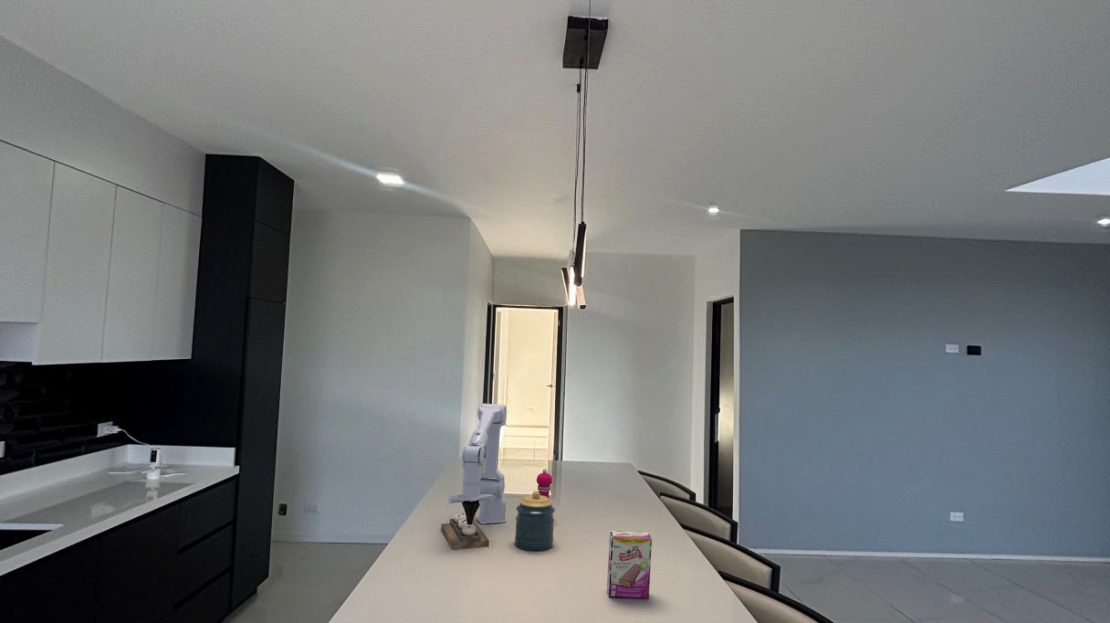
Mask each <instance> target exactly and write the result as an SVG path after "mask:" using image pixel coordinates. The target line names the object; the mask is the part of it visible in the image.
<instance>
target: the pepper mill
mask: <svg viewBox="0 0 1110 623" xmlns="http://www.w3.org/2000/svg"><path fill="white" fill-rule="evenodd" d="M536 483H537V490H538V492H539V493H540V495H542V496H546V497H548V498H549V499H550V491H551V488H552V487H551V485H552V483H553V476H552V475H551V474H550V473H548V470H547V468H543V469H542V472H541V473H539V474H538V475H537V477H536ZM552 505H553V504H552ZM552 505H551V506H552ZM552 507H553V506H552Z"/></svg>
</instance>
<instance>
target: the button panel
mask: <svg viewBox="0 0 1110 623" xmlns="http://www.w3.org/2000/svg"><path fill="white" fill-rule="evenodd" d="M472 525H474V526H476V534H474V535H464V534H462V530H463V529H460V528H458V523H456V522H454V518H449V522H447V523H441V526H440V530H441V532H442V534H443V535H444V537H445V539H446V541H447V543H448V544H449V546H450V548H451V550H463V549H473V548H474V549H475V548H485V546H487V547H489V546H490V539H489V538H488V537H487V535H486V534H485V532H483V530H482V529H481V527H480V526H479V525H478V524H477V522H476V521H474V520H473V523H472Z"/></svg>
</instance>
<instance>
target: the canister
mask: <svg viewBox="0 0 1110 623" xmlns="http://www.w3.org/2000/svg"><path fill="white" fill-rule="evenodd" d="M518 501H519V502H518V503H519V505H517V506H516V507H515V509H516V512H517V516H516V517H515V535H514V542H515V543H514V544H515V546H516V547H518V548H520V549H522V550H526V551H532V552H533V551H534V552H538V551H540V552H541V551H545V550H549V549H551V548H552V546H553V543H554V522H555V518H554V513H555V512H556V511H555V510H556V509H555V508H554V506H551V505H553V504H554V503H553V501H552V500H551V499H550V497H549V498H548V497H546V496H542V495H540V493H539V491H537V490H534V491H533V492H532V494H529V495H528V494H527V495H525V496H523V497H522V498H520V499H519V500H518Z"/></svg>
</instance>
